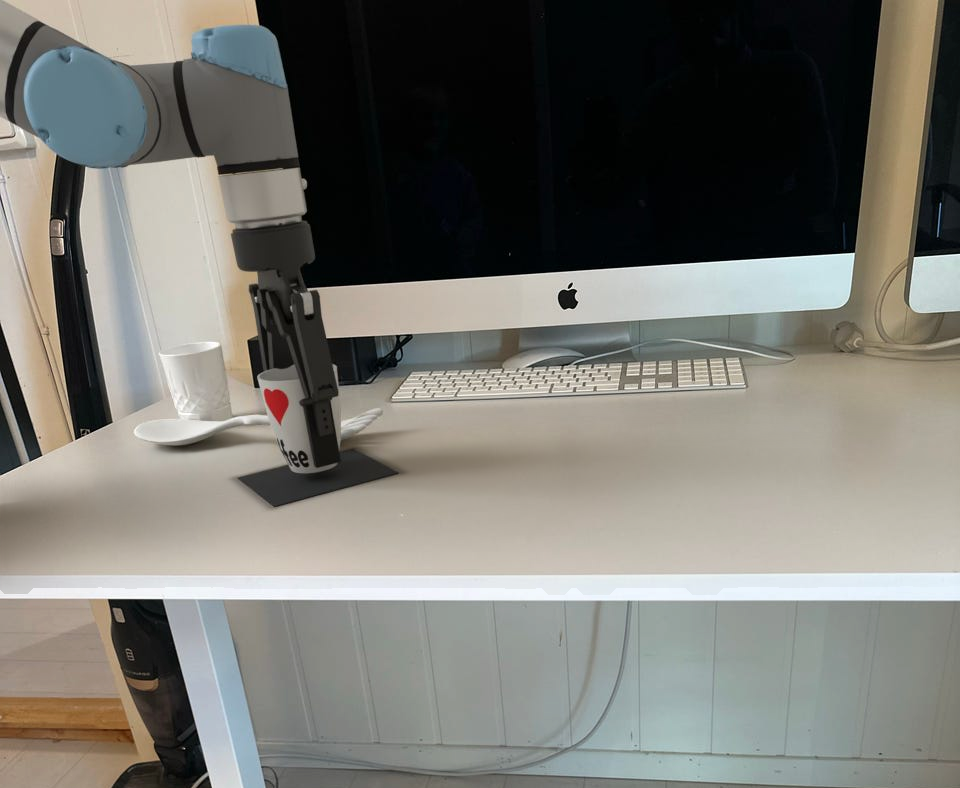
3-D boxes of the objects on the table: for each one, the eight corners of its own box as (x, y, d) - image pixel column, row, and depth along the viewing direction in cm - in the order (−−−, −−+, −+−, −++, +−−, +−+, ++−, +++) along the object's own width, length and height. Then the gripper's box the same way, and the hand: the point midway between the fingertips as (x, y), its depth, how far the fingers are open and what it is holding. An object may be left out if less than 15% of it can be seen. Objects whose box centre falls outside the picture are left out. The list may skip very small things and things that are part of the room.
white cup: (244, 423, 120) (227, 346, 115) (185, 437, 117) (166, 358, 112) (228, 412, 126) (211, 339, 122) (172, 425, 123) (152, 349, 119)
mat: (274, 506, 91) (273, 505, 91) (237, 478, 100) (237, 477, 100) (398, 473, 96) (398, 472, 96) (353, 449, 106) (353, 448, 106)
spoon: (357, 456, 103) (352, 426, 101) (124, 454, 113) (116, 426, 111) (387, 432, 110) (383, 404, 109) (166, 432, 120) (159, 406, 118)
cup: (268, 464, 99) (248, 372, 95) (337, 448, 102) (322, 358, 97) (289, 483, 93) (269, 385, 88) (363, 466, 96) (347, 370, 91)
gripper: (348, 219, 80) (385, 468, 91) (270, 216, 95) (310, 428, 106) (267, 230, 77) (315, 487, 88) (201, 225, 92) (249, 443, 103)
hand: (312, 455), depth 97 cm, fingers closed on cup, 8 cm apart
